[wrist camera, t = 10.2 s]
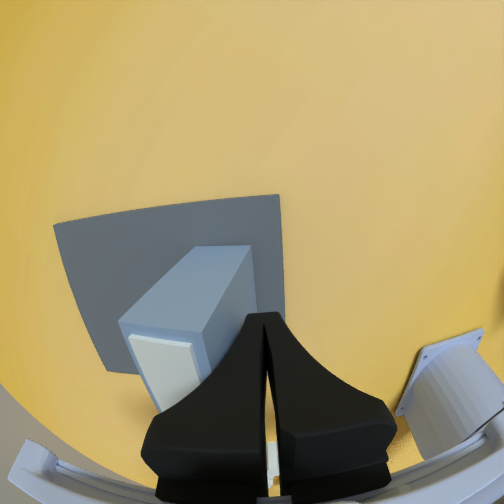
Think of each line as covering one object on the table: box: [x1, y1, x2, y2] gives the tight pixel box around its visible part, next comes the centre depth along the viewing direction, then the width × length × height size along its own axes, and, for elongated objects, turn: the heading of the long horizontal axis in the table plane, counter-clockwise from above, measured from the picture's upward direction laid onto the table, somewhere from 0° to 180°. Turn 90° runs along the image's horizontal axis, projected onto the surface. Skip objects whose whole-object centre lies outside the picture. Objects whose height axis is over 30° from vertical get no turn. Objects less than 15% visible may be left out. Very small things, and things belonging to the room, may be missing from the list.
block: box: [118, 245, 257, 413], centre depth 11 cm, size 6×3×7 cm, turn 5°
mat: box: [53, 194, 285, 375], centre depth 16 cm, size 12×14×1 cm
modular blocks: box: [266, 441, 279, 489], centre depth 21 cm, size 20×7×4 cm, turn 170°
